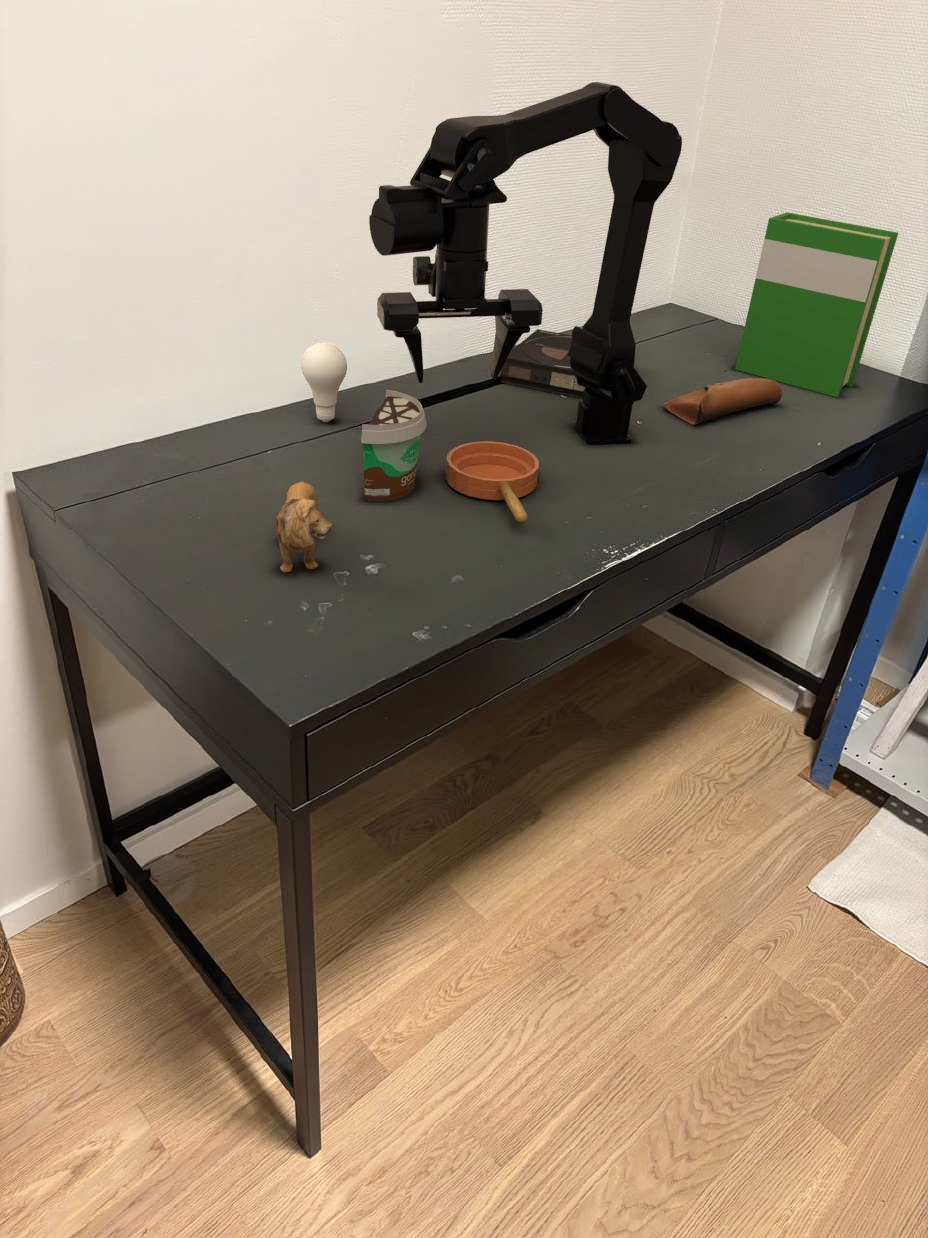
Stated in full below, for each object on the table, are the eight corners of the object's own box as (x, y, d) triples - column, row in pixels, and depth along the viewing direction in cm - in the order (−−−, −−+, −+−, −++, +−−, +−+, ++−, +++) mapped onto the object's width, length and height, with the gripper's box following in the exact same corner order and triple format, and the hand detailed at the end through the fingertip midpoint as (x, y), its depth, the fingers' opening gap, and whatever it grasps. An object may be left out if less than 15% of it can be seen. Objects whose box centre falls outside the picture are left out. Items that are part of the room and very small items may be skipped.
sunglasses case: (738, 385, 151) (763, 356, 146) (762, 419, 149) (789, 392, 144) (658, 405, 142) (682, 375, 137) (683, 442, 140) (708, 413, 135)
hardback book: (852, 385, 156) (898, 232, 143) (837, 397, 151) (883, 239, 138) (752, 359, 164) (787, 212, 151) (735, 369, 159) (769, 218, 146)
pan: (522, 460, 124) (524, 439, 123) (547, 500, 115) (550, 478, 113) (437, 464, 122) (438, 443, 120) (456, 505, 113) (457, 482, 111)
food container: (412, 512, 111) (414, 432, 105) (361, 505, 111) (361, 426, 106) (433, 468, 121) (436, 393, 115) (386, 462, 121) (387, 387, 116)
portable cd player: (499, 383, 148) (501, 358, 145) (535, 352, 161) (537, 329, 159) (600, 403, 143) (604, 378, 141) (628, 370, 156) (632, 346, 154)
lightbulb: (355, 417, 133) (354, 340, 127) (336, 433, 128) (334, 353, 122) (315, 410, 134) (313, 333, 128) (295, 425, 130) (292, 346, 123)
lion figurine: (334, 586, 96) (332, 508, 91) (281, 590, 95) (276, 511, 90) (318, 518, 108) (316, 445, 103) (271, 521, 107) (266, 447, 102)
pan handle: (508, 489, 114) (508, 478, 113) (528, 525, 107) (529, 514, 106) (496, 489, 113) (497, 479, 113) (516, 525, 106) (517, 514, 105)
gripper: (522, 228, 115) (513, 354, 124) (369, 230, 111) (371, 360, 120) (549, 251, 106) (537, 385, 115) (384, 254, 102) (385, 393, 111)
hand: (457, 380), depth 115 cm, fingers open, 9 cm apart
